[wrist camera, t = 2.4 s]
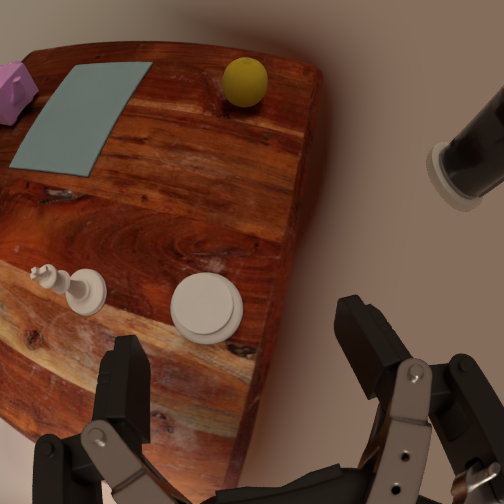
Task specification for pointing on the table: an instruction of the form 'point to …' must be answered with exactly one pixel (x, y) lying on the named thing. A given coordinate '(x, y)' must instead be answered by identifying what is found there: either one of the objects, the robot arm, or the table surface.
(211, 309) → the pill bottle
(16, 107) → the teapot
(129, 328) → the table surface
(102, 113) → the cloth mat
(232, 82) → the lemon
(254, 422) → the table surface
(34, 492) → the robot arm
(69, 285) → the chess piece
